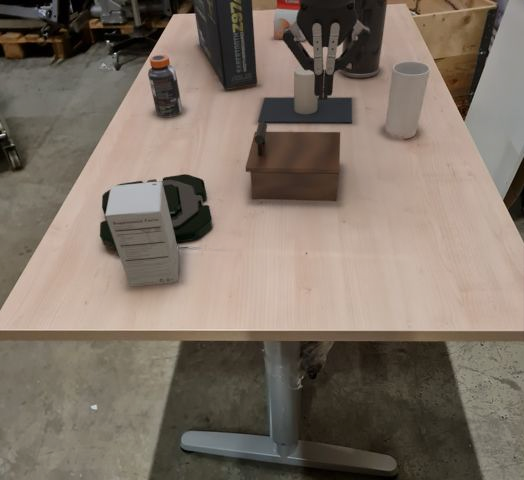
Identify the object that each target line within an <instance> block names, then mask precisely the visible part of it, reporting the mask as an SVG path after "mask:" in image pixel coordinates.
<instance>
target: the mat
mask: <svg viewBox="0 0 524 480" xmlns="http://www.w3.org/2000/svg"><path fill="white" fill-rule="evenodd" d="M352 104H353V98H352V97H328V100H318V109H317V111H316V112H314V113H312V114H299V113H296V112H295V111H294V97H264V98H263V101H262V105H261V109H260V113H259V117H258V121H257V123H258V124H259V122H261V121H263V122H265V123H266V124H343V125H344V124H349V125H350V124H353V105H352Z"/></svg>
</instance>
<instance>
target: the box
mask: <svg viewBox="0 0 524 480" xmlns="http://www.w3.org/2000/svg"><path fill="white" fill-rule="evenodd" d="M192 2H193V10H194V16H195V22H196V23H195V24H196V28H197V29H196V30H197V36H198V37H197V38H198V43H199V46H200V48H201V49H202V51H203V52H204V54H205V56H206V58H207V60H208V61H209V63H210V64H211V67H212V68H213V70H214V72H215V74H216V75H217V77H218V79H219V81H220V83H221V84H222V87H223V88H224V89H225V90H230V89H236V88H242V87H249V86H254V85H257V84H258V77H257V75H258V74H257V61H256V58H257V57H256V46H255V45H256V43H255V27H254V15H253V14H254V11H253V0H192Z"/></svg>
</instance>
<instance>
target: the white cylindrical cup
mask: <svg viewBox="0 0 524 480" xmlns="http://www.w3.org/2000/svg"><path fill="white" fill-rule="evenodd" d="M430 70H431V67H430V66H429V65H428V64H427V63H424V62H420V61H413V60H407V61H400V62H396V63H395V64H393V66H392V71H391V79H390V85H389V92H388V93H389V94H388V101H387V107H386V108H387V109H386V116H385V117H386V118H385V125H384V130H385V131H386V132H387V133H388V134H391V135H393V136H397V137H399V136H400V137H402V139H403V140H406V139H410V138H413V137H414V136H415V135H416V134H417V130H418V126H419V122H420V118H421V117H420V116H421V114H422V113H421V112H422V107H423V103H424V100H425V94H426V89H427V86H428V82H429V76H430Z"/></svg>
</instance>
